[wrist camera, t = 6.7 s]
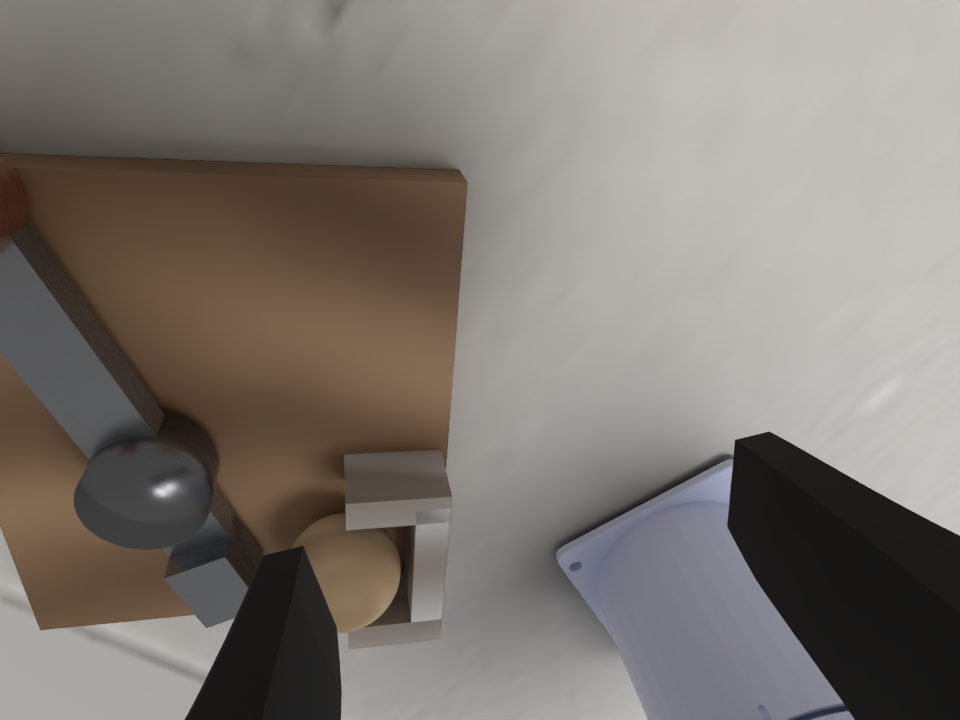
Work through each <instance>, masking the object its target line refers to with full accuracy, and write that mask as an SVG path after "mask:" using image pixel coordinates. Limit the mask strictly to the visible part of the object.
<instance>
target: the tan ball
mask: <svg viewBox="0 0 960 720" xmlns="http://www.w3.org/2000/svg"><path fill="white" fill-rule="evenodd" d="M300 546H303V547H304V549H305V551H306V554H307V556H308V559H309V561H310V563H311V566H312V568H313V571H314V573H315V576H316V578H317V580H318V583H319V585H320V588H321V590H322V593H323V595H324V597H325V600H326V602H327V605H328V607H329V610H330V612H331V614H332V617H333V619H334V622H335V624H336V626H337V633H345V632H351V631H355V630H358V629H361V628H363V627H365V626H367V625H369V624H371V623H372V622H374V621H375V620H376V619H377V618H379V617H380V616H381V615H382V614H383V613H384V612H385V610H386V609H387V608H388V607H389V605H390V604H391V602H392V600H393V598H394V596H395V594H396V592H397V589H398V586H399V582H400V575H401V563H400V557H399V552H398V550H397V547H396V544H395V542H394V541H393V539H392V537H391V536H390V534H389V533H388V532H387V531H386V530H385V529H384V528H372V529H359V530H346V513H338V514H333V515H329V516H327V517H324V518H321V519H319V520H317V521H316V522H314V523H313V524H311V525H310V526H309V527H307V528H306V529H305V530H304V531H303V532H302V533H301V534H300V535H299V537H298V538H297V539H296V541H295V542H294V544H293V546H292V548H296V547H300ZM292 548H291V549H292Z"/></svg>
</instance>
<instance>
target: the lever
mask: <svg viewBox="0 0 960 720" xmlns="http://www.w3.org/2000/svg"><path fill="white" fill-rule="evenodd" d="M29 215H30V205H29V199H28V195H27V192H26V189H25V187H24V185H23V183H22V181H21V180H20V178H19V176H18V175H17V174H16V172H15V171H14V170H13V168H12V167H11V166H10V165H9V164H8V163H7V162H6V161H5V160H4V159H3V158H1V157H0V353H1V354H2V355H3V356H4V358H5V359H6V360H7V361H8V362H9V364H10V365H11V366H12V367H13V369H14V370H15V371H16V372H17V373H18V375H19V376H20V377H21V378H22V379H23V381H24V382H25V383H26V384H27V385H28V387H29V388H30V389H31V390H32V391H33V393H34V394H35V395H36V396H37V397H38V399H39V400H40V401H41V402H42V403H43V405H44V406H45V407H46V408H47V409H48V411H49V412H50V413H51V414H52V416H53V417H54V418H55V419H56V420H57V422H58V423H59V424H60V425H61V426H62V428H63V429H64V430H65V431H66V432H67V434H68V435H69V436H70V437H71V438H72V440H73V441H74V442H75V443H76V444H77V446H78V447H79V448H80V449H81V450H82V452H83V453H84V454H85V455H86V457H87V458H88V459H89V462H88V464H87V466H86V468H85V470H84V472H83V474H82V476H81V478H80V480H79V482H78V484H77V487H76V489H75V493H74V508H75V511H76V513H77V516H78V517H79V519H80V521H81V522H82V523H83V524H84V526H85V527H86V528H87V529H88V530H89V531H91V532H92V533H93V534H95V535H96V536H98V537H99V538H101V539H103V540H105V541H107V542H109V543H112V544H115V545H118V546H121V547H125V548H131V549H141V550H153V549H161V548H163V549H164V551H165V552H166V553H167V554H168V555H169V557H170V558H169V562H168V565H167V569H166V573H165V576H164V579H165V581H166V582H167V583H168V584H169V585H170V586H171V588H172V589H173V590H174V591H175V592H176V593H177V595H178V596H179V597H180V598H181V599H182V600H183V601H184V603H185V604H186V605H187V606H188V607H189V608H190V610H191V611H192V612H193V613H194V614H195V615H196V617H197V618H198V619H199V620H200V621H201V622H202V624H203V625H204V626H205V627H206V628H208V627H211V626H213V625H216V624H219V623H222V622H225V621H228V620H230V619H233V618H235V617H236V615H237V613H238V610H239V608H240V606H241V604H242V601H243V599H244V597H245V594H246V592H247V590H248V587H249V585H250V583H251V580H252V578H253V576H254V573H255V571H256V569H257V566H258V564H259V562H260V560H261V559H262V558H263V556H264V555H263V554H262V552H261V551H260V549H259V548H258V546H257V545H256V544H255V542H254V541H253V539H252V538H251V537H250V535H249V534H248V532H247V531H246V529H245V528H244V527H243V525H242V524H241V522H240V521H239V520H238V518H237V517H236V515H235V514H234V512H233V511H232V510H231V508H230V507H229V505H228V504H227V503H226V501H225V500H224V498H223V497H222V495H221V494H220V493H219V491H218V490H217V488H216V487H215V485H216V480H217V476H218V471H219V466H220V458H219V453H218V451H217V448H216V446H215V444H214V442H213V441H212V440H211V438H210V437H209V436H208V435H207V434H206V433H205V432H204V431H203V430H201V429H200V428H199V427H197V426H195V425H194V424H192V423H190V422H188V421H186V420H183V419H180V418H177V417H173V416H169V415H164V413H163V412H162V410H161V409H160V407H159V406H158V405H157V403H156V402H155V400H154V399H153V398H152V396H151V395H150V393H149V392H148V390H147V389H146V388H145V386H144V385H143V383H142V382H141V381H140V379H139V378H138V376H137V375H136V373H135V372H134V371H133V369H132V368H131V366H130V365H129V364H128V362H127V361H126V359H125V358H124V356H123V355H122V354H121V352H120V351H119V349H118V348H117V346H116V345H115V344H114V342H113V341H112V339H111V338H110V337H109V335H108V334H107V332H106V331H105V329H104V328H103V327H102V325H101V324H100V322H99V321H98V320H97V318H96V317H95V315H94V314H93V312H92V311H91V310H90V308H89V307H88V305H87V304H86V303H85V301H84V300H83V298H82V297H81V295H80V294H79V293H78V291H77V290H76V288H75V287H74V285H73V284H72V283H71V281H70V280H69V278H68V277H67V276H66V274H65V273H64V271H63V270H62V268H61V267H60V266H59V264H58V263H57V261H56V260H55V259H54V257H53V256H52V254H51V253H50V251H49V250H48V249H47V247H46V246H45V244H44V243H43V242H42V240H41V239H40V237H39V236H38V234H37V233H36V232H35V230H34V229H33V227H32V226H31V225H30V223H29V222H28V221H29Z"/></svg>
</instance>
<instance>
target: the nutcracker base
mask: <svg viewBox="0 0 960 720" xmlns="http://www.w3.org/2000/svg"><path fill="white" fill-rule="evenodd" d="M0 157H1V158H3V159H4V160H5V161H6V162H7V163H8V164H9V165H10V166H11V167H12V168H13V170H14V171H15V172H16V174H17V175H18V176H19V178H20V180H21V181H22V183H23V185H24V187H25V189H26V192H27V195H28V199H29V205H30V215H29V221H28V222H29V223H30V225H31V226H32V227H33V229H34V230H35V232H36V233H37V234H38V236H39V237H40V239H41V240H42V242H43V243H44V244H45V246H46V247H47V249H48V250H49V251H50V253H51V254H52V256H53V257H54V259H55V260H56V261H57V263H58V264H59V266H60V267H61V268H62V270H63V271H64V273H65V274H66V276H67V277H68V278H69V280H70V281H71V283H72V284H73V285H74V287H75V288H76V290H77V291H78V293H79V294H80V295H81V297H82V298H83V300H84V301H85V303H86V304H87V305H88V307H89V308H90V310H91V311H92V312H93V314H94V315H95V317H96V318H97V320H98V321H99V322H100V324H101V325H102V327H103V328H104V329H105V331H106V332H107V334H108V335H109V337H110V338H111V339H112V341H113V342H114V344H115V345H116V346H117V348H118V349H119V351H120V352H121V354H122V355H123V356H124V358H125V359H126V361H127V362H128V364H129V365H130V366H131V368H132V369H133V371H134V372H135V373H136V375H137V376H138V378H139V379H140V381H141V382H142V383H143V385H144V386H145V388H146V389H147V390H148V392H149V393H150V395H151V396H152V398H153V399H154V400H155V402H156V403H157V405H158V406H159V407H160V409H161V410H162V412H163V413H164V415H169V416H173V417H177V418H180V419H183V420H186V421H188V422H190V423H192V424H194V425H195V426H197V427H199V428H200V429H201V430H203V431H204V432H205V433H206V434H207V435H208V436H209V437H210V438H211V440H212V441H213V442H214V444H215V446H216V448H217V451H218V453H219V458H220V466H219V471H218V476H217V480H216V485H215V487H216V488H217V490H218V491H219V493H220V494H221V495H222V497H223V498H224V500H225V501H226V503H227V504H228V505H229V507H230V508H231V510H232V511H233V512H234V514H235V515H236V517H237V518H238V520H239V521H240V522H241V524H242V525H243V527H244V528H245V529H246V531H247V532H248V534H249V535H250V537H251V538H252V539H253V541H254V542H255V544H256V545H257V546H258V548H259V549H260V551H261V552H262V554H263V555H267V554H271V553H275V552H280V551H284V550H288V549H291V548H292V546H293V544H294V542H295V541H296V539H297V538H298V537H299V535H300V534H301V533H302V532H303V531H304V530H305V529H306V528H307V527H309V526H310V525H311V524H313V523H314V522H316V521H317V520H319V519H321V518H324V517H327V516H329V515H333V514H338V513H346V530H359V529H372V528H384V529H385V530H386V531H387V532H388V533H389V534H390V536H391V537H392V539H393V541H394V542H395V544H396V547H397V550H398V552H399V557H400V563H401V575H400V582H399V586H398V589H397V592H396V594H395V596H394V598H393V600H392V602H391V604H390V605H389V607H388V608H387V609H386V610H385V612H384V613H383V614H382V615H381V616H380V617H379V618H377V619H376V620H375V621H374V622H372V623H371V624H369V625H367V626H365V627H363V628H361V629H358V630H355V631H351V632H348V634H349V649H356V648H365V647H374V646H382V645H391V644H400V643H408V642H417V641H426V640H434V639H440V632H441V620H442V608H443V596H444V584H445V572H446V560H447V548H448V536H449V525H450V513H451V501H452V495H451V491H450V487H449V482H448V478H447V474H446V459H447V446H448V432H449V419H450V406H451V393H452V379H453V366H454V353H455V340H456V326H457V313H458V300H459V286H460V273H461V260H462V247H463V233H464V220H465V207H466V194H467V181H466V180H465V178H464V177H463V175H462V174H461V172H460V170H437V169H410V168H383V167H356V166H329V165H302V164H275V163H248V162H222V161H195V160H168V159H141V158H114V157H87V156H60V155H33V154H6V153H0ZM88 462H89V459H88V458H87V457H86V455H85V454H84V453H83V452H82V450H81V449H80V448H79V447H78V446H77V444H76V443H75V442H74V441H73V440H72V438H71V437H70V436H69V435H68V434H67V432H66V431H65V430H64V429H63V428H62V426H61V425H60V424H59V423H58V422H57V420H56V419H55V418H54V417H53V416H52V414H51V413H50V412H49V411H48V409H47V408H46V407H45V406H44V405H43V403H42V402H41V401H40V400H39V399H38V397H37V396H36V395H35V394H34V393H33V391H32V390H31V389H30V388H29V387H28V385H27V384H26V383H25V382H24V381H23V379H22V378H21V377H20V376H19V375H18V373H17V372H16V371H15V370H14V369H13V367H12V366H11V365H10V364H9V362H8V361H7V360H6V359H5V358H4V356H3V355H2V354H1V353H0V527H1V529H2V532H3V534H4V537H5V540H6V542H7V545H8V547H9V550H10V553H11V555H12V558H13V560H14V563H15V566H16V568H17V571H18V573H19V576H20V579H21V581H22V584H23V586H24V589H25V592H26V594H27V597H28V599H29V602H30V605H31V607H32V610H33V612H34V615H35V618H36V620H37V623H38V625H39V628H40V630H46V629H56V628H66V627H76V626H86V625H96V624H106V623H117V622H127V621H137V620H147V619H157V618H167V617H177V616H187V615H195V614H194V613H193V612H192V611H191V610H190V608H189V607H188V606H187V605H186V604H185V603H184V601H183V600H182V599H181V598H180V597H179V596H178V595H177V593H176V592H175V591H174V590H173V589H172V588H171V586H170V585H169V584H168V583H167V582H166V581H165V579H164V576H165V573H166V569H167V565H168V562H169V558H170V557H169V555H168V554H167V553H166V552H165V551H164V549H163V548H161V549H153V550H141V549H131V548H125V547H121V546H118V545H115V544H112V543H109V542H107V541H105V540H103V539H101V538H99V537H98V536H96V535H95V534H93V533H92V532H91V531H89V530H88V529H87V528H86V527H85V526H84V524H83V523H82V522H81V521H80V519H79V517H78V516H77V513H76V511H75V508H74V493H75V489H76V487H77V484H78V482H79V480H80V478H81V476H82V474H83V472H84V470H85V468H86V466H87V464H88Z"/></svg>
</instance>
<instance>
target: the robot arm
mask: <svg viewBox="0 0 960 720" xmlns="http://www.w3.org/2000/svg"><path fill="white" fill-rule="evenodd" d="M556 558H557V561H558V563H559V565H560V567H561V568H562V570H563V571H564V572H565V574H566V575H567V576H568V578H569V579H570V581H571V582H572V583H573V585H574V586H575V587H576V589H577V590H578V591H579V593H580V594H581V596H582V597H583V598H584V600H585V601H586V602H587V604H588V605H589V607H590V608H591V609H592V611H593V612H594V613H595V615H596V616H597V617H598V619H599V620H600V622H601V623H602V624H603V626H604V627H605V628H606V630H607V631H608V633H609V634H610V635H611V637H612V638H613V639H614V641H615V643H616V645H617V647H618V650H619V652H620V654H621V657H622V659H623V662H624V664H625V666H626V669H627V671H628V673H629V676H630V678H631V681H632V683H633V685H634V688H635V690H636V692H637V695H638V697H639V699H640V702H641V704H642V707H643V709H644V711H645V714H646V716H647V718H648V720H960V536H959V535H957V534H955V533H953V532H951V531H949V530H947V529H945V528H943V527H941V526H939V525H937V524H935V523H933V522H931V521H929V520H927V519H926V518H924V517H922V516H920V515H918V514H916V513H914V512H912V511H910V510H908V509H907V508H905V507H903V506H901V505H899V504H897V503H895V502H894V501H892V500H890V499H888V498H886V497H885V496H883V495H881V494H879V493H877V492H875V491H874V490H872V489H870V488H868V487H866V486H865V485H863V484H861V483H859V482H858V481H856V480H854V479H852V478H851V477H849V476H847V475H845V474H844V473H842V472H840V471H838V470H837V469H835V468H833V467H831V466H830V465H828V464H826V463H824V462H823V461H821V460H819V459H817V458H816V457H814V456H812V455H810V454H809V453H807V452H805V451H803V450H802V449H800V448H798V447H796V446H795V445H793V444H791V443H789V442H788V441H786V440H784V439H782V438H780V437H778V436H777V435H775V434H773V433H771V432H766V433H762V434H758V435H754V436H750V437H746V438H742V439H737V440H735V447H734V458H733V459H728V460H725V461H723V462H721V463H719V464H718V465H716V466H714V467H712V468H710V469H708V470H706V471H704V472H702V473H700V474H699V475H697V476H695V477H693V478H691V479H689V480H687V481H685V482H683V483H681V484H680V485H678V486H676V487H674V488H672V489H670V490H668V491H666V492H664V493H662V494H661V495H659V496H657V497H655V498H653V499H651V500H649V501H647V502H645V503H643V504H642V505H640V506H638V507H636V508H634V509H632V510H630V511H628V512H626V513H624V514H623V515H621V516H619V517H617V518H615V519H613V520H611V521H609V522H607V523H605V524H604V525H602V526H600V527H598V528H596V529H594V530H592V531H590V532H588V533H586V534H585V535H583V536H581V537H579V538H577V539H575V540H573V541H571V542H569V543H567V544H566V545H564V546H562V547H561V548H559V550H558V551H557V552H556ZM572 563H573V564H572ZM341 693H342V691H341V676H340V661H339V649H338V637H337V626H336V624H335V622H334V619H333V617H332V614H331V612H330V610H329V607H328V605H327V602H326V600H325V597H324V595H323V593H322V590H321V588H320V585H319V583H318V580H317V578H316V576H315V573H314V571H313V568H312V566H311V563H310V561H309V559H308V556H307V554H306V551H305V549H304V547H303V546H300V547H296V548H292V549H288V550H284V551H280V552H275V553H271V554H267V555H264V556H263V558H262V559H261V560H260V562H259V564H258V566H257V569H256V571H255V573H254V576H253V578H252V580H251V583H250V585H249V587H248V590H247V592H246V594H245V597H244V599H243V601H242V604H241V606H240V608H239V610H238V613H237V615H236V617H235V619H234V621H233V624H232V626H231V628H230V630H229V632H228V634H227V637H226V639H225V641H224V643H223V645H222V647H221V649H220V651H219V653H218V655H217V657H216V659H215V661H214V663H213V666H212V668H211V670H210V672H209V674H208V676H207V678H206V680H205V682H204V684H203V686H202V688H201V690H200V692H199V694H198V696H197V698H196V700H195V702H194V704H193V705H192V707H191V709H190V711H189V713H188V715H187V717H186V718H185V720H341Z"/></svg>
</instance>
